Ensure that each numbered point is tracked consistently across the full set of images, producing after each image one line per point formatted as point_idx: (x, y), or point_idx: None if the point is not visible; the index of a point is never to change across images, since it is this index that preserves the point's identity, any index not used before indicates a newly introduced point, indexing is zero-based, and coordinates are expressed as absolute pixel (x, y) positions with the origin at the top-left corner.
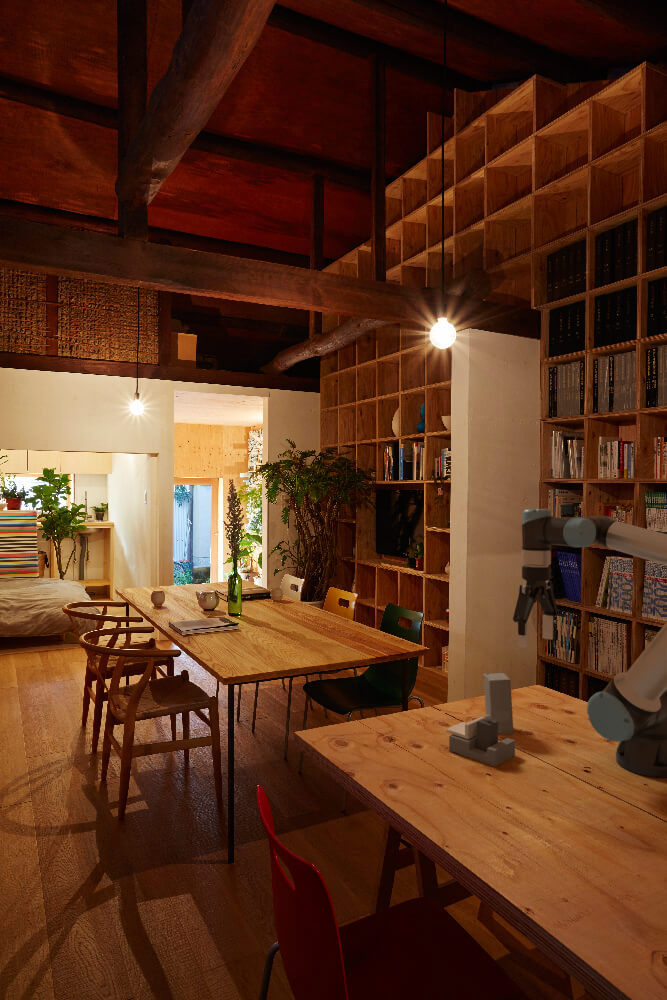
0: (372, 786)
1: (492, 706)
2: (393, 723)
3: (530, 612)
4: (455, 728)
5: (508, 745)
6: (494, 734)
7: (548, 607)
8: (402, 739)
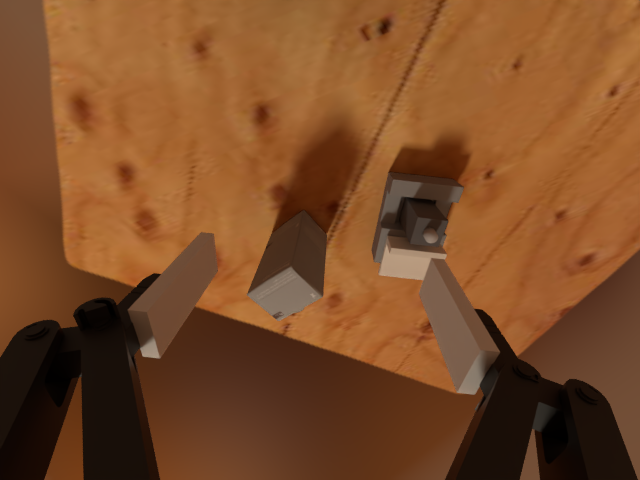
0: (597, 277)
1: (323, 259)
2: (376, 344)
3: (481, 423)
4: (416, 271)
5: (415, 181)
6: (425, 209)
7: (135, 385)
8: (423, 315)
